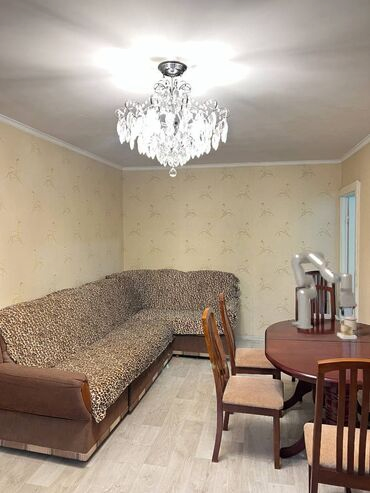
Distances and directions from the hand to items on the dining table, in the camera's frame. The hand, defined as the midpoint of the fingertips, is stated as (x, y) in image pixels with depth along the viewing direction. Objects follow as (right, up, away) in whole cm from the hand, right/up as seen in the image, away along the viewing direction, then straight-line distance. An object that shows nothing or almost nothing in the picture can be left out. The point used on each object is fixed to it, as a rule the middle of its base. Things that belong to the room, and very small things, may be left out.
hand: (346, 315), depth 264 cm
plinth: (0, -16, 0) cm, 16 cm away
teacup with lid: (+11, -16, +23) cm, 30 cm away
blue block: (0, 0, 0) cm, 0 cm away
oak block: (0, -14, 0) cm, 14 cm away
